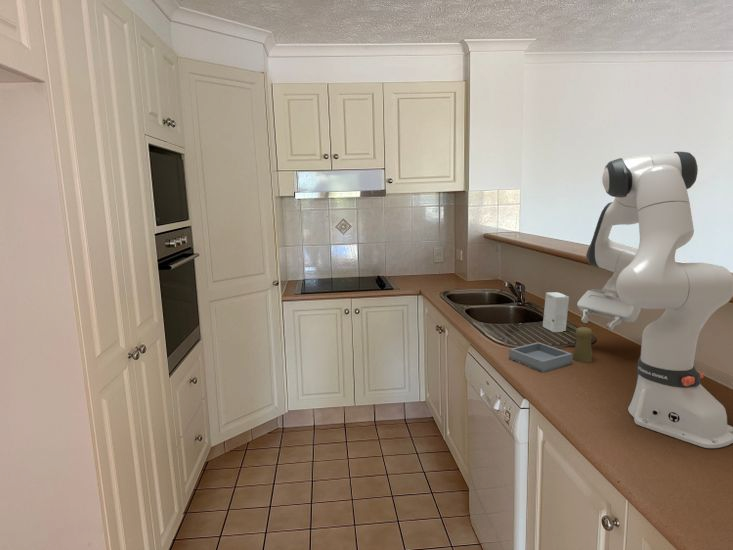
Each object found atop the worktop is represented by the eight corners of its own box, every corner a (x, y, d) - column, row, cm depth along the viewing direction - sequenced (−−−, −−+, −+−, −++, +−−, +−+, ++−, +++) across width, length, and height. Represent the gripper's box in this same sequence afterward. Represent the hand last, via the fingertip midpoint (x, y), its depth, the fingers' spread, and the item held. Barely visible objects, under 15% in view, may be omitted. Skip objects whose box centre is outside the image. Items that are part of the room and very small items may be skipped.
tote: (572, 363, 153) (572, 353, 153) (542, 372, 147) (542, 361, 146) (538, 351, 165) (538, 342, 165) (509, 358, 159) (509, 349, 158)
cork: (581, 363, 154) (583, 331, 152) (568, 357, 159) (570, 326, 157) (596, 361, 155) (598, 329, 153) (583, 355, 161) (585, 324, 159)
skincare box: (542, 327, 194) (544, 292, 192) (555, 326, 195) (557, 291, 193) (553, 333, 186) (555, 296, 184) (567, 332, 187) (569, 295, 185)
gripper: (585, 282, 168) (565, 312, 165) (641, 293, 150) (620, 326, 148) (593, 293, 171) (573, 323, 168) (648, 304, 153) (628, 338, 151)
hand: (595, 324), depth 158 cm, fingers open, 8 cm apart
